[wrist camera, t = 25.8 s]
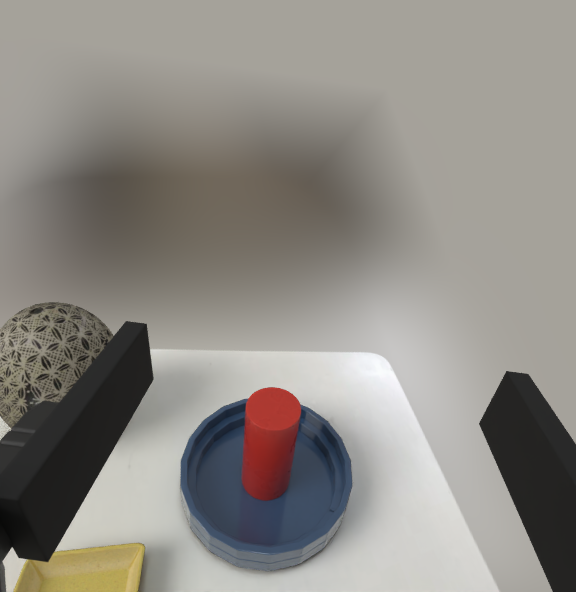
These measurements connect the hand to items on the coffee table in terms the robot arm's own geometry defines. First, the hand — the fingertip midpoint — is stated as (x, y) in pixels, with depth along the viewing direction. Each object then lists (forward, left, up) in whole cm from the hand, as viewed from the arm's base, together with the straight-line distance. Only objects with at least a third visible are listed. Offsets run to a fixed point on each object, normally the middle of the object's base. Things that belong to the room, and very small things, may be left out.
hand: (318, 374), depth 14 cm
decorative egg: (+24, -16, -26) cm, 39 cm away
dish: (+2, -12, -26) cm, 29 cm away
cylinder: (+2, -12, -25) cm, 28 cm away
